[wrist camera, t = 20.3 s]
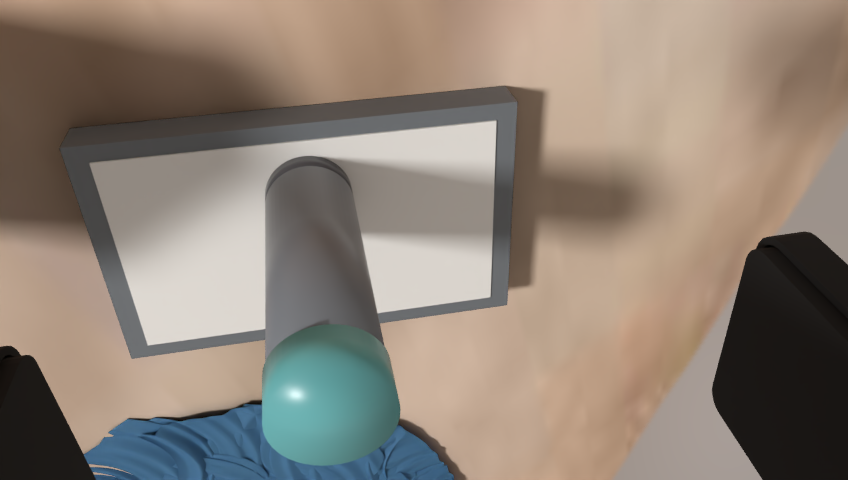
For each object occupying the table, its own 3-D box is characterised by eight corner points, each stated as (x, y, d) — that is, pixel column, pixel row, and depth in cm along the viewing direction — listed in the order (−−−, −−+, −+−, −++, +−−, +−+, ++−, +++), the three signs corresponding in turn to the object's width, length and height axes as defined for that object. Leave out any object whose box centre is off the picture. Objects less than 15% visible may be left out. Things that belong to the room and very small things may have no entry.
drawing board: (505, 85, 34) (518, 102, 33) (497, 283, 41) (507, 306, 39) (69, 128, 32) (58, 149, 30) (137, 333, 38) (131, 360, 37)
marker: (350, 149, 32) (397, 358, 21) (357, 226, 35) (402, 453, 23) (256, 159, 32) (251, 380, 20) (269, 237, 34) (272, 475, 23)
